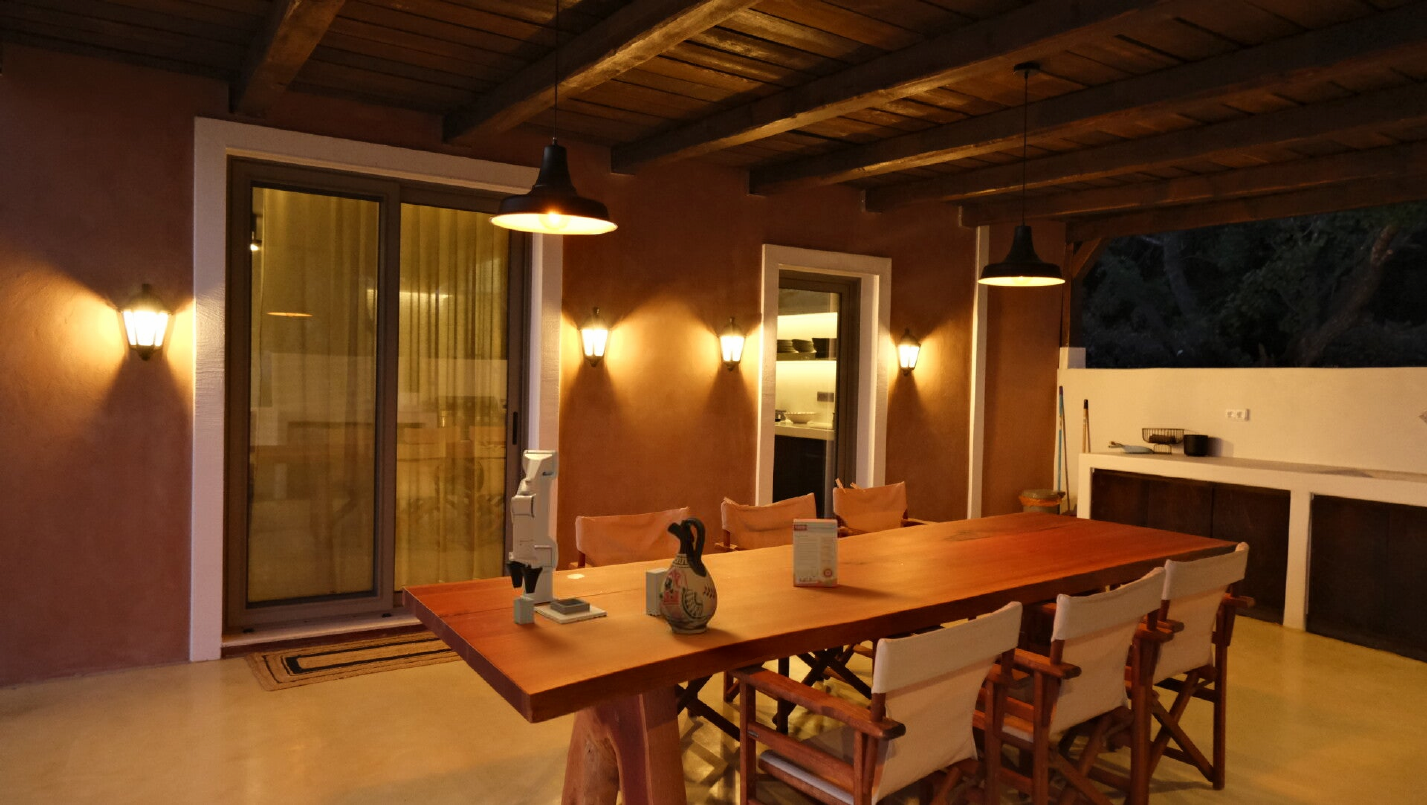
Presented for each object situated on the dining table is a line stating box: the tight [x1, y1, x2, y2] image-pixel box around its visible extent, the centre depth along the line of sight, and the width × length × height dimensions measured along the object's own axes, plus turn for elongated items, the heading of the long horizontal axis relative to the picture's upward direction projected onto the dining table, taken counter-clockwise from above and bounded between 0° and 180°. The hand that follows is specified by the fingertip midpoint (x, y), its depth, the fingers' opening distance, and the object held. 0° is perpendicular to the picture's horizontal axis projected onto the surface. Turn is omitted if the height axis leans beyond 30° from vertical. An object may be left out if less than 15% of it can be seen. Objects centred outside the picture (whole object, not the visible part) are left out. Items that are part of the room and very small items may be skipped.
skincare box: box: [645, 567, 669, 617], centre depth 248 cm, size 6×4×12 cm
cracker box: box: [792, 518, 838, 588], centre depth 283 cm, size 14×6×21 cm, turn 84°
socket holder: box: [534, 597, 608, 625], centre depth 247 cm, size 16×14×3 cm
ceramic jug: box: [659, 517, 718, 636], centre depth 231 cm, size 17×15×30 cm
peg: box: [513, 597, 535, 625], centre depth 239 cm, size 4×4×6 cm
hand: (523, 590), depth 238 cm, fingers open, 7 cm apart
